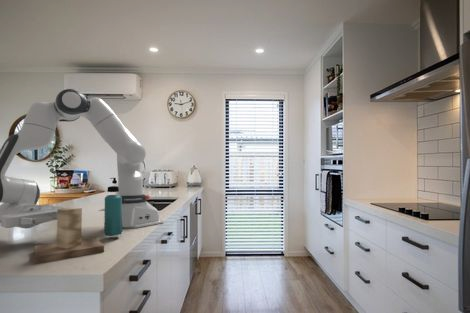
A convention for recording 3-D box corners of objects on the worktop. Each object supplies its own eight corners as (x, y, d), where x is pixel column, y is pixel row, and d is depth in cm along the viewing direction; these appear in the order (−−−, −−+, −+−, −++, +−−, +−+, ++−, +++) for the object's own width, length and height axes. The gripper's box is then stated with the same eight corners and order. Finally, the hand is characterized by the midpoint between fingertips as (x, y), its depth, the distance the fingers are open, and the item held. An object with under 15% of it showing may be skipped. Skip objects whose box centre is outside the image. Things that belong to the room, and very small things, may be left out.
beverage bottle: (125, 237, 109) (125, 186, 110) (107, 241, 105) (107, 187, 105) (118, 235, 114) (118, 185, 115) (101, 238, 109) (101, 186, 110)
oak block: (72, 242, 95) (72, 207, 95) (81, 244, 93) (81, 208, 93) (56, 246, 91) (57, 209, 91) (66, 248, 88) (66, 210, 89)
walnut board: (94, 242, 103) (95, 237, 103) (104, 251, 91) (104, 245, 92) (34, 252, 92) (34, 245, 92) (36, 263, 81) (36, 256, 81)
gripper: (-8, 211, 95) (13, 214, 89) (54, 203, 113) (76, 205, 107) (-9, 230, 95) (13, 234, 88) (54, 219, 113) (76, 222, 106)
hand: (48, 218), depth 98 cm, fingers open, 8 cm apart
